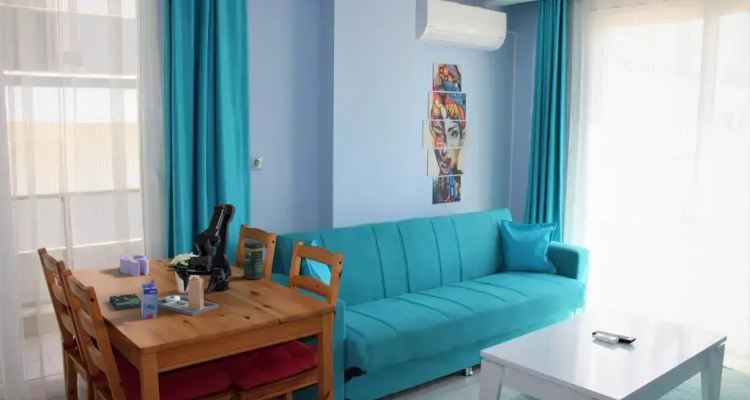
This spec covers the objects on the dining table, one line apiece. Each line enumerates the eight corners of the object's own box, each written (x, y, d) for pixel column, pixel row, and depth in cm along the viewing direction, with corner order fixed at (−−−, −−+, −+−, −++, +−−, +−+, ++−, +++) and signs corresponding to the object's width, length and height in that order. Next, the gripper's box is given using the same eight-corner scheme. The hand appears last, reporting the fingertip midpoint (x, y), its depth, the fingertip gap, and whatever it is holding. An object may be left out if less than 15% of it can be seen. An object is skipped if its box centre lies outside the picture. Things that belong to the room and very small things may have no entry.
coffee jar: (265, 278, 315) (266, 240, 313) (252, 280, 310) (252, 242, 308) (254, 274, 322) (255, 237, 320) (241, 276, 317) (241, 239, 315)
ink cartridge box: (158, 319, 246) (157, 282, 244) (142, 321, 244) (142, 283, 242) (155, 312, 255) (155, 276, 253) (140, 313, 253) (140, 277, 251)
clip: (155, 274, 315) (155, 260, 315) (129, 277, 308) (129, 263, 307) (141, 266, 331) (140, 253, 330) (116, 269, 323) (115, 255, 322)
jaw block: (192, 306, 261) (192, 276, 260) (203, 307, 261) (203, 277, 259) (188, 310, 257) (188, 279, 255) (199, 310, 256) (199, 279, 255)
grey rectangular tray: (150, 306, 262) (150, 299, 262) (176, 299, 274) (176, 292, 274) (192, 317, 250) (192, 310, 250) (218, 309, 262) (218, 302, 262)
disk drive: (109, 303, 268) (116, 311, 255) (108, 296, 267) (116, 305, 255) (135, 299, 273) (143, 308, 261) (134, 293, 273) (143, 301, 261)
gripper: (178, 247, 262) (167, 280, 252) (223, 249, 261) (214, 282, 251) (184, 262, 271) (175, 294, 261) (228, 264, 269) (220, 296, 260)
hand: (196, 291), depth 258 cm, fingers open, 9 cm apart
